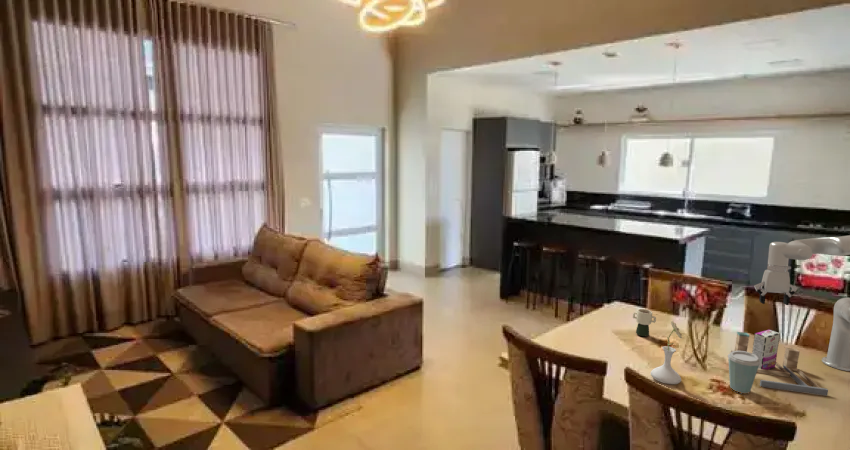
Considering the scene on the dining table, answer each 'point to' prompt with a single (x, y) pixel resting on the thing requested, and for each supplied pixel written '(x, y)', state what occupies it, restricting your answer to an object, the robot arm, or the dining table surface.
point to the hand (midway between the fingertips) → (773, 303)
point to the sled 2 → (795, 364)
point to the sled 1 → (742, 346)
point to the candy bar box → (766, 348)
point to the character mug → (643, 321)
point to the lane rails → (794, 385)
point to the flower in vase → (667, 363)
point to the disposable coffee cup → (742, 370)
